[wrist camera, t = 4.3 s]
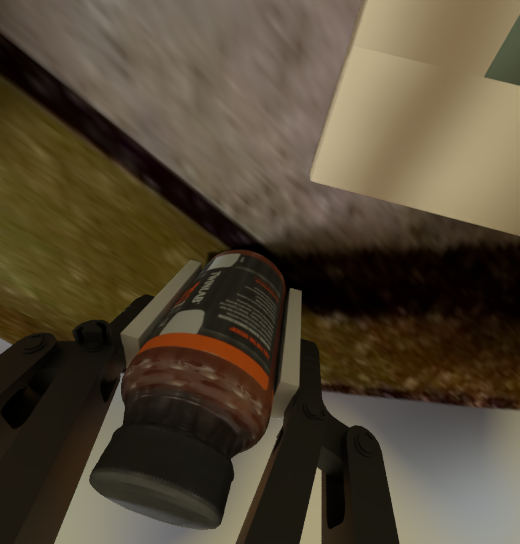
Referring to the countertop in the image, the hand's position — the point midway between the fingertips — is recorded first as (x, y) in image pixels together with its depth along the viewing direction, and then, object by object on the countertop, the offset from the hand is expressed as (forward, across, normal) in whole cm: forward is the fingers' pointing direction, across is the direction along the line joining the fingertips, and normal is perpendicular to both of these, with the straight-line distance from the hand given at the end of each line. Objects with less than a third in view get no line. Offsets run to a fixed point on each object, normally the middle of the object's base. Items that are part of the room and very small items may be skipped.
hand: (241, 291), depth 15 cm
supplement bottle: (+1, 0, 0) cm, 1 cm away
